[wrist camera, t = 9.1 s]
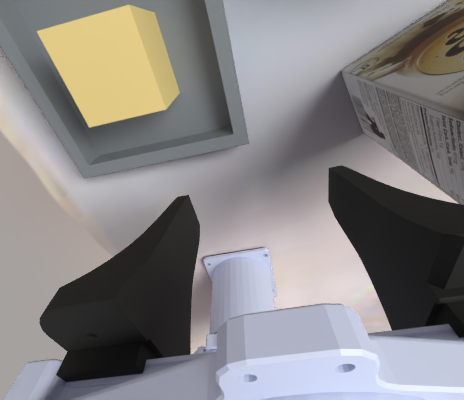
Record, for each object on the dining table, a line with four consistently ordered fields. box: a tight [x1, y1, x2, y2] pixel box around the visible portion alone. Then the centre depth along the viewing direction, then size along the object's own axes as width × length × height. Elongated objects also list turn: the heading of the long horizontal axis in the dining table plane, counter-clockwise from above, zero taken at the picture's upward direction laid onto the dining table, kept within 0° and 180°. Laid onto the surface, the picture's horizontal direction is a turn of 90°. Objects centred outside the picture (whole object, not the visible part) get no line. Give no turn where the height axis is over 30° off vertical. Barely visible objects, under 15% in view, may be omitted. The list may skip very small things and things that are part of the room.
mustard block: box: [37, 5, 180, 128], centre depth 15 cm, size 5×5×5 cm
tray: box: [0, 0, 249, 178], centre depth 17 cm, size 14×14×3 cm
